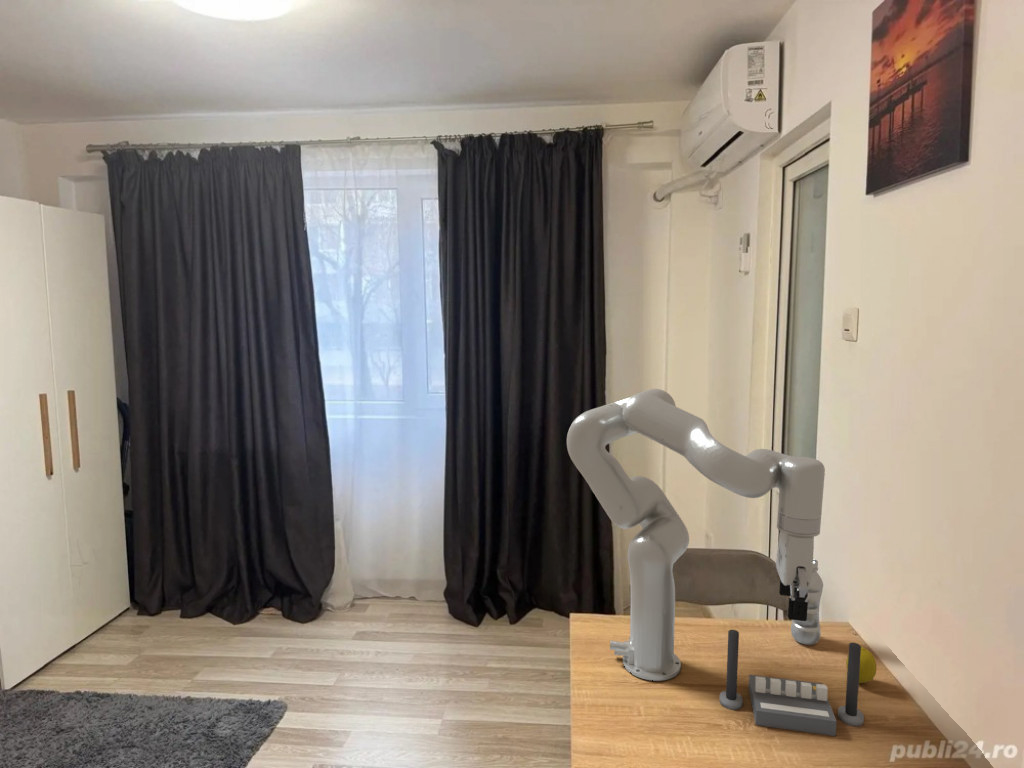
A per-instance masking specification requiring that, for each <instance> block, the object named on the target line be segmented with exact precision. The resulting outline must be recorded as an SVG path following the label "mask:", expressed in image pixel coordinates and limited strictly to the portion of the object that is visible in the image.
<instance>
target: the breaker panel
mask: <svg viewBox="0 0 1024 768" xmlns="http://www.w3.org/2000/svg"><path fill="white" fill-rule="evenodd" d="M755 676H756V677H765V679H766V689H770V678H773V679H780V681H781V691H785V681H786V680H789V681H795V682H796V693H800V688H801V682H805V683H811V685H812V695H816V684H822V685H823V683H821V682H816V681H815V682H812V681H804V680H797V679H790V678H781V677H775V676H774V677H773V676H766V675H765V676H763V675H756V674H748V691H749V697H750V698H749V699H750V702H751V707H752V713H753V719H754V723H755V726H760V727H767V728H774V729H775V728H776V729H782V730H788V731H789V730H790V731H797V732H801V733H802V732H804V733H811V734H816V735H817V734H818V735H826V736H833V737H836V734H837V718H836V716H835V713H834V711H833V708H832V706H831V703H830V701H829V698H828V697H827V701H822V700H817V699H813V698H811V699H806V698H801V697H797V696H796V697H791V696H786V695H775V694H771V693H766V692H765V693H760V692H756V691H755Z"/></svg>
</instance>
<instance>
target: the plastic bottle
mask: <svg viewBox="0 0 1024 768" xmlns="http://www.w3.org/2000/svg"><path fill="white" fill-rule="evenodd" d="M818 565H819V561H818V560H816V559H815V558H813V570H812V581H811V586H810V587H808V590H807V591H808V609H807V620H806V621H799V620H791V625H790V632H791V636H792V638H793V639H794V640H795V641H796V642H797V643H800V644H803V645H808V646H813V645H816V644H817V643H818V642H819V641H820V639H821V625H820V604H821V599H822V593H823V589H824V582H823V580H822V577H821V575H820V574H819V573H818V570H819V567H818ZM797 590H798V588H797Z"/></svg>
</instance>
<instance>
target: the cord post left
mask: <svg viewBox="0 0 1024 768" xmlns="http://www.w3.org/2000/svg"><path fill="white" fill-rule="evenodd" d="M727 635H728V637H727V657H726V658H727V659H726V660H727V661H726V685H725V687H726V689H725V690H724V691H721V692H720V693H719V704H720V705H721V706H722V707H723V708H725V709H727V710H733V711H737V710H740V709H742V708H743V703H744V701H743V700H744V699H743V696H742V695H741V694H739V693H738V691H737V690H738V689H737V688H738V672H739V671H738V670H739V669H738V666H739V665H738V664H739V641H740V632H739V631H738V630H736V629H729V630H728V633H727Z"/></svg>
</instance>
